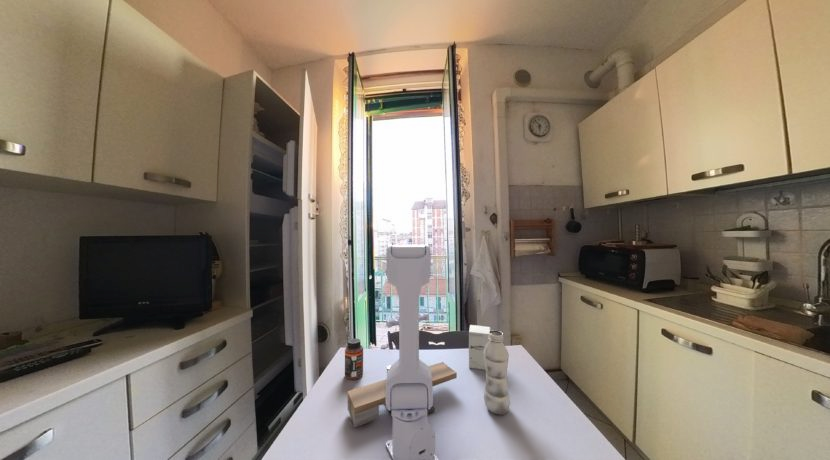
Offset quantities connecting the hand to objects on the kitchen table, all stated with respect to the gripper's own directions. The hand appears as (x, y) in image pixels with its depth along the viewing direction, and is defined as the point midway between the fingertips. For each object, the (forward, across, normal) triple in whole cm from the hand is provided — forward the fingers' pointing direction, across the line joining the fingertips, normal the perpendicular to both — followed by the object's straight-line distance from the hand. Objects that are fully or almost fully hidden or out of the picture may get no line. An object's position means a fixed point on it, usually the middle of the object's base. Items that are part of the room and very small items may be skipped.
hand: (408, 345), depth 79 cm
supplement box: (+11, -26, +5) cm, 29 cm away
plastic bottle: (+11, -14, +24) cm, 30 cm away
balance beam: (+9, +6, +10) cm, 15 cm away
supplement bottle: (+11, +15, -10) cm, 21 cm away
